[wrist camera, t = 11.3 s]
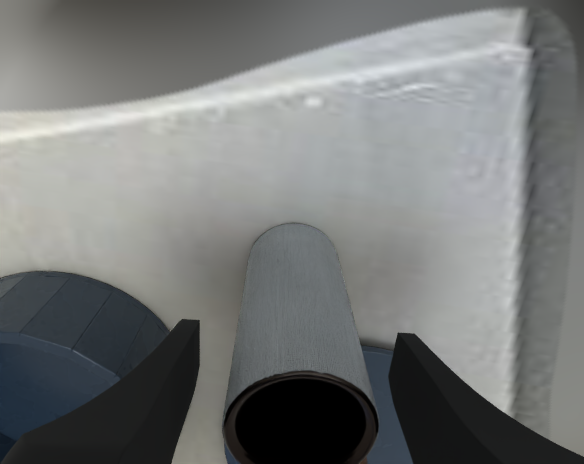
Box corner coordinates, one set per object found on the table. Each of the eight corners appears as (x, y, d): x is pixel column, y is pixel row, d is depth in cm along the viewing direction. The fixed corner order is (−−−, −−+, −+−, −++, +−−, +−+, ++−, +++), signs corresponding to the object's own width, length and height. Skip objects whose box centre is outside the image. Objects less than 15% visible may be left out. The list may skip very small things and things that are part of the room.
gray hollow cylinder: (230, 272, 22) (191, 447, 12) (283, 204, 20) (282, 344, 11) (302, 315, 23) (315, 505, 13) (356, 254, 21) (413, 419, 12)
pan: (188, 460, 27) (168, 545, 22) (-27, 451, 26) (-92, 535, 22) (186, 279, 22) (160, 341, 17) (-82, 261, 21) (-183, 320, 17)
